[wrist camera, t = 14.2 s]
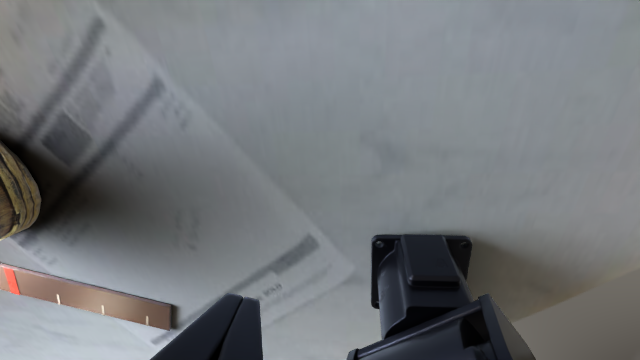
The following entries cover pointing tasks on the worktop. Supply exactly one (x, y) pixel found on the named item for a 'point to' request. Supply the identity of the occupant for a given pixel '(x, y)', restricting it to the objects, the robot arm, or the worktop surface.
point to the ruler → (85, 297)
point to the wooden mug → (16, 194)
